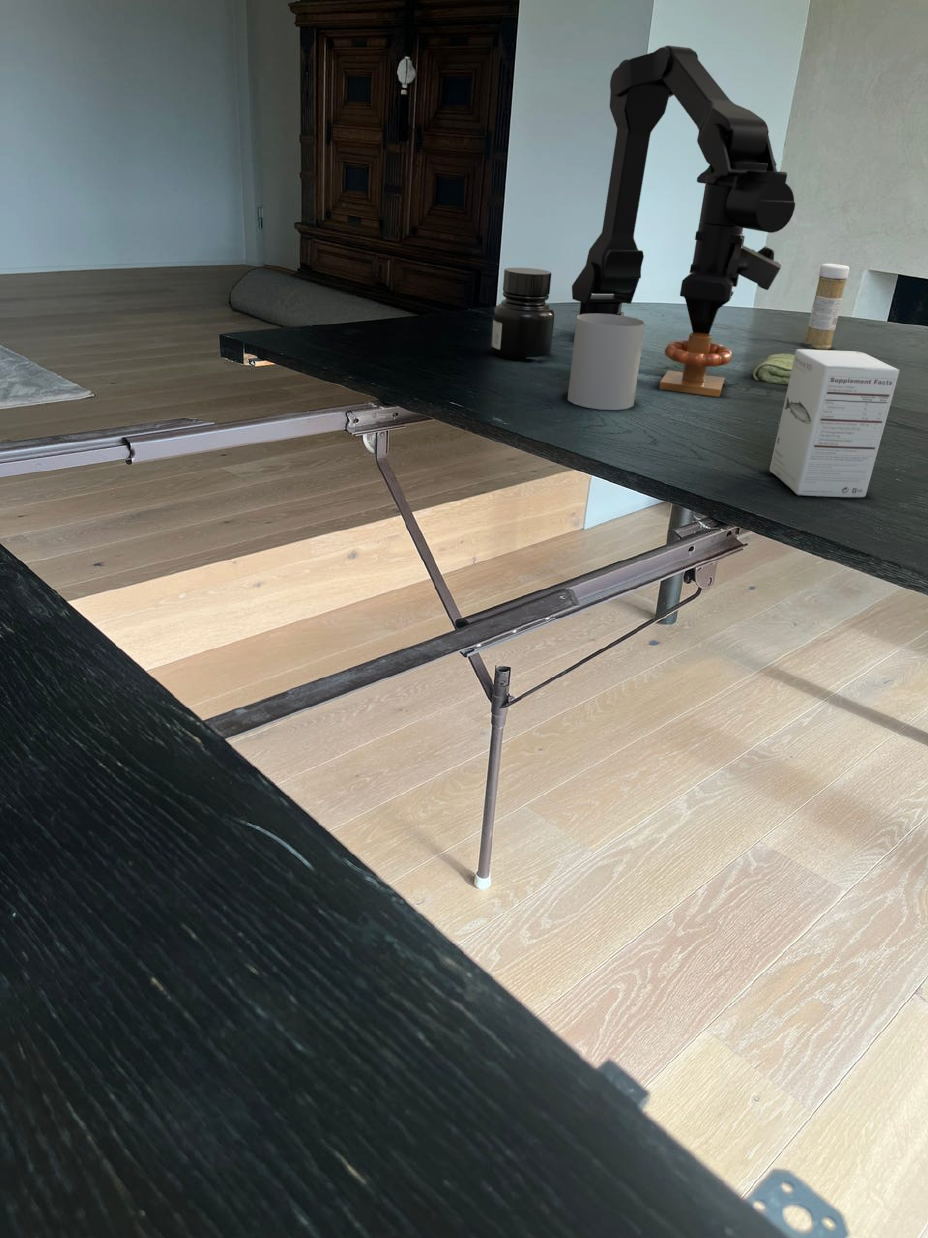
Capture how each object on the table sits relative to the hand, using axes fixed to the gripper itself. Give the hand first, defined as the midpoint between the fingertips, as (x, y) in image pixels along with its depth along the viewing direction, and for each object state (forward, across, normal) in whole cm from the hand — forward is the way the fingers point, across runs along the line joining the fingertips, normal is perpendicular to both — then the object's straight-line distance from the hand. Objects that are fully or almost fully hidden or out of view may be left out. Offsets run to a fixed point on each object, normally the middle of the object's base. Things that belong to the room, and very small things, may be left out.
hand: (700, 345), depth 132 cm
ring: (0, -4, 0) cm, 4 cm away
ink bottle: (+5, +2, +26) cm, 27 cm away
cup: (+5, -19, +10) cm, 22 cm away
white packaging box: (+5, -41, -16) cm, 44 cm away
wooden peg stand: (+5, -4, 0) cm, 6 cm away
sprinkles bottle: (+5, +39, -17) cm, 43 cm away
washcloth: (+5, +7, -17) cm, 19 cm away
